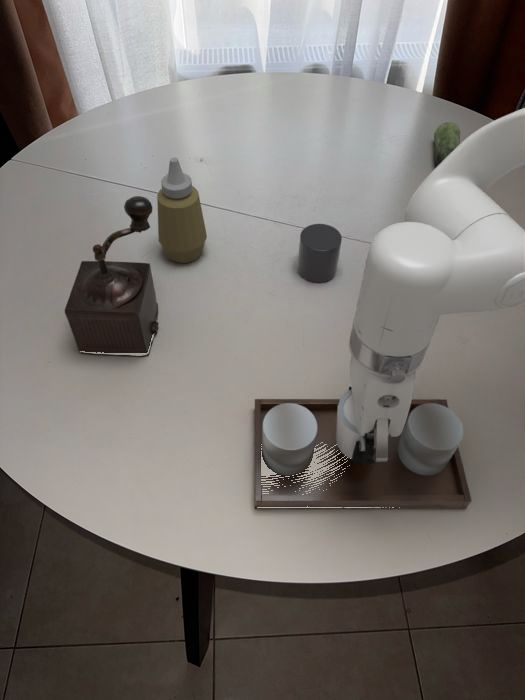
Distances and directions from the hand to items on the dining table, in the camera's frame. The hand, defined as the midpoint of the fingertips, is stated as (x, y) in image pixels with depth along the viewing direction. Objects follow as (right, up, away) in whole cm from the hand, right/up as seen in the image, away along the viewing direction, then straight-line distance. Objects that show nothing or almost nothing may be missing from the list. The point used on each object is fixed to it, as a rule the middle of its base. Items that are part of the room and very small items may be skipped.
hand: (361, 431), depth 71 cm
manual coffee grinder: (-33, +15, +19) cm, 41 cm away
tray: (0, -4, +5) cm, 6 cm away
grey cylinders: (+7, +24, +27) cm, 36 cm away
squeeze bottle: (-25, +27, +29) cm, 47 cm away
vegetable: (+25, +49, +48) cm, 73 cm away
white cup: (0, -1, +2) cm, 2 cm away
